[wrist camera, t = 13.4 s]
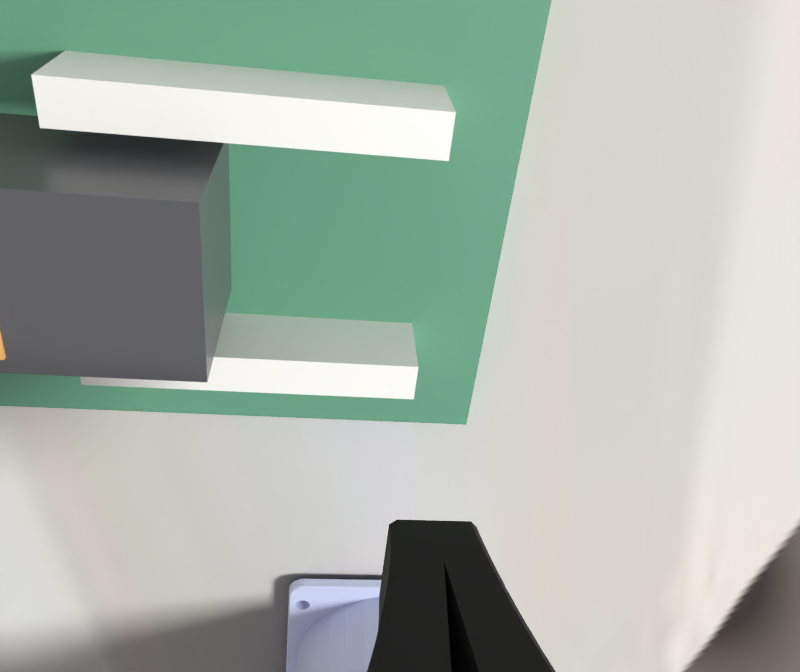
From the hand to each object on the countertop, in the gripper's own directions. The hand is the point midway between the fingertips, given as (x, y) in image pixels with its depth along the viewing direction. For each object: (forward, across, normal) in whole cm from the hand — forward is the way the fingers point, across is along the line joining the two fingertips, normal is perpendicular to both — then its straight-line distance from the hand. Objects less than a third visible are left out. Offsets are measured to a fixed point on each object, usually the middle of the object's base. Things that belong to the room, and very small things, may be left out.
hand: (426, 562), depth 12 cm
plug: (+8, +7, -2) cm, 11 cm away
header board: (+9, +4, -2) cm, 11 cm away
